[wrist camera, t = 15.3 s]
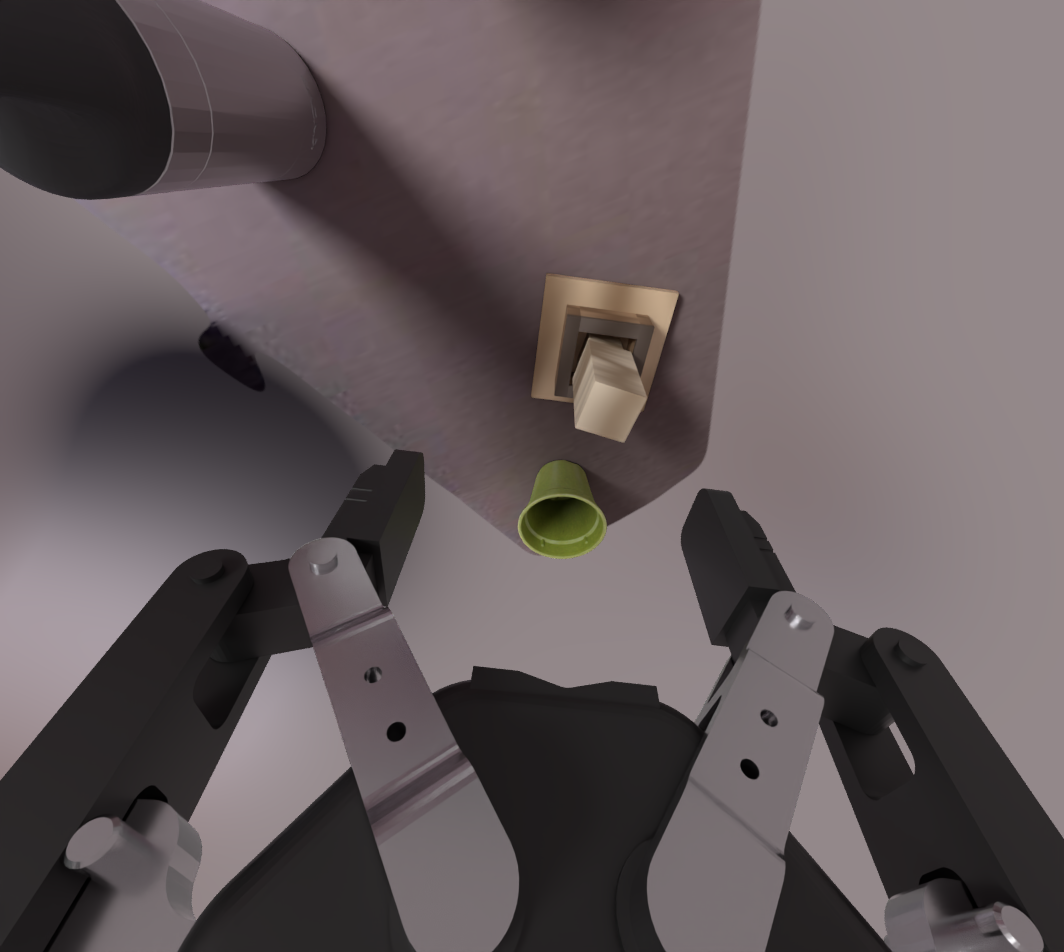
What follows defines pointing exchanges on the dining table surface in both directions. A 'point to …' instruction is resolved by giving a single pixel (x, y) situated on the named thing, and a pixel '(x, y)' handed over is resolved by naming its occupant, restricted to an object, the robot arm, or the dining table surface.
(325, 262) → the dining table surface
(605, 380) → the leg peg
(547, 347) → the board
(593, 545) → the plant pot
